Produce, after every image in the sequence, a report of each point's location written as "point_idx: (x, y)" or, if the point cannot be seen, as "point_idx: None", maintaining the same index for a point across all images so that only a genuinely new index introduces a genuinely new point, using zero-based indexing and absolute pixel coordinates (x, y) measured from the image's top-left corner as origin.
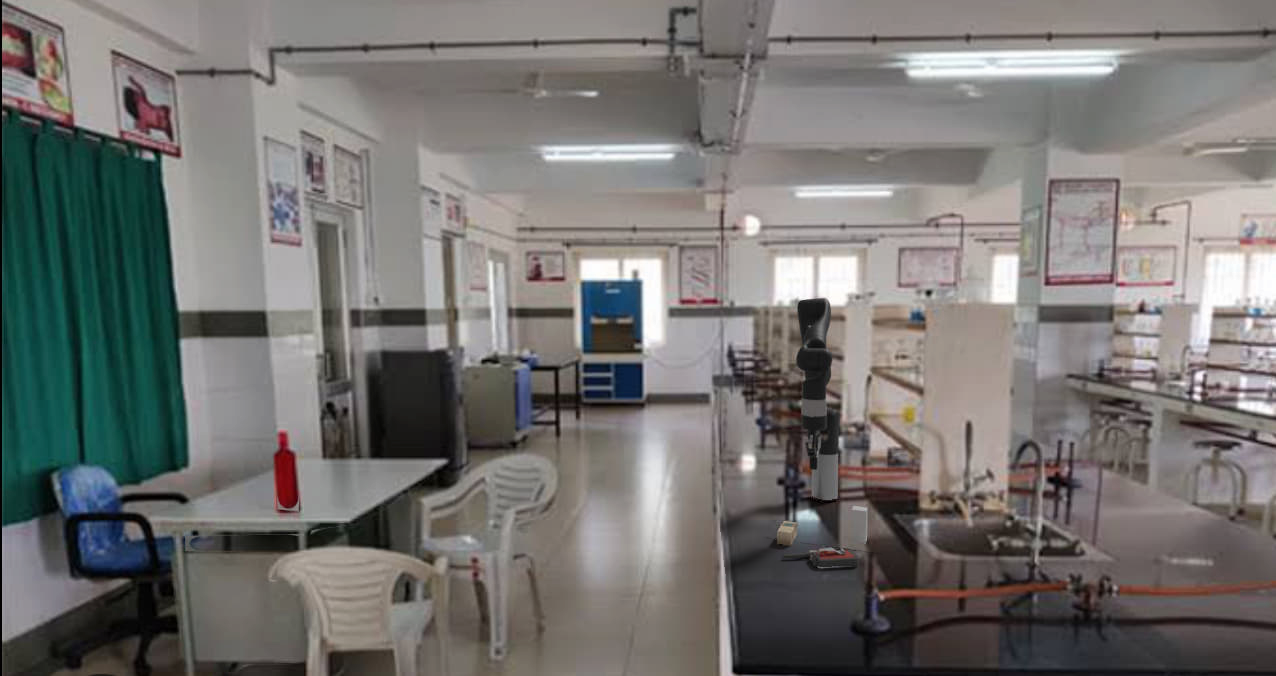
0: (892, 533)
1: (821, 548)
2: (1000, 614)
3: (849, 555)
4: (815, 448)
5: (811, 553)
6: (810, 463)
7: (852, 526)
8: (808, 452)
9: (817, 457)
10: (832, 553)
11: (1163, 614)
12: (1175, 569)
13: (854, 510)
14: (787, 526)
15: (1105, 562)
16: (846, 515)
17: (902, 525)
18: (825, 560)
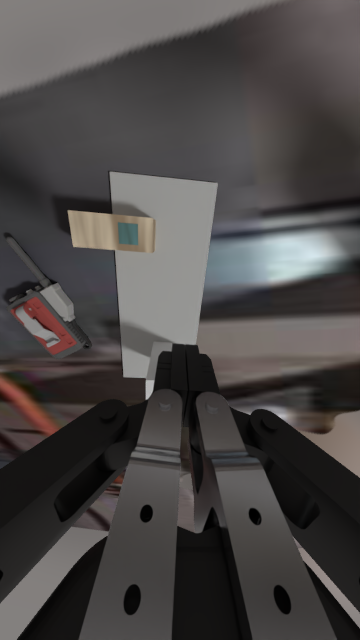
0: (219, 385)
1: (27, 313)
2: (24, 450)
3: (51, 349)
4: (34, 558)
5: (32, 292)
6: (170, 363)
7: (150, 358)
8: (42, 452)
9: (186, 426)
10: (43, 326)
11: (97, 509)
12: (188, 523)
13: (146, 383)
14: (113, 232)
15: (188, 503)
16: (299, 328)
17: (257, 395)
18: (13, 316)
